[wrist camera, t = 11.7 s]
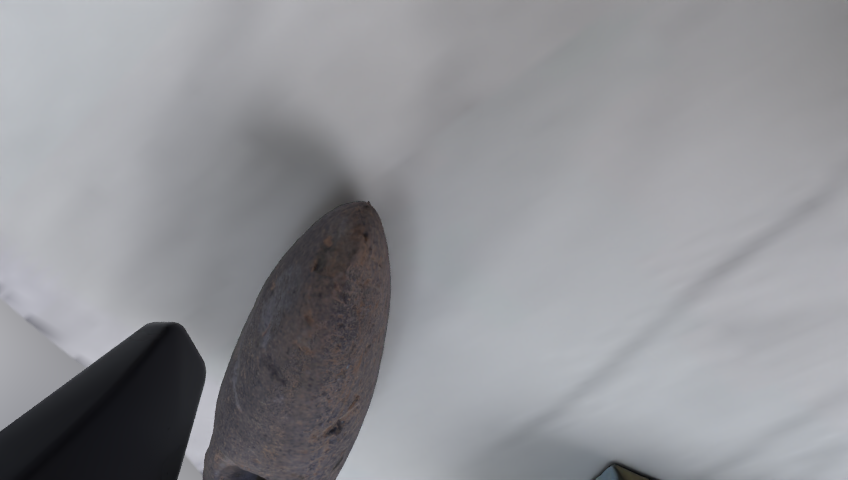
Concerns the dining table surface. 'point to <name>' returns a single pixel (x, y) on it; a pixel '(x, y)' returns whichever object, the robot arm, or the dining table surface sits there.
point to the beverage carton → (619, 474)
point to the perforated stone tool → (306, 356)
